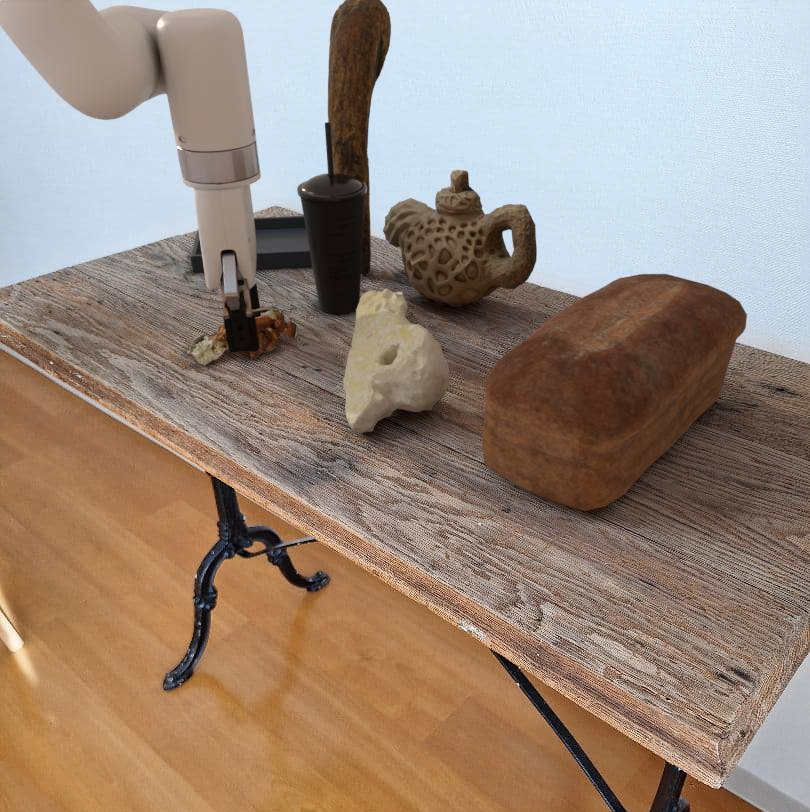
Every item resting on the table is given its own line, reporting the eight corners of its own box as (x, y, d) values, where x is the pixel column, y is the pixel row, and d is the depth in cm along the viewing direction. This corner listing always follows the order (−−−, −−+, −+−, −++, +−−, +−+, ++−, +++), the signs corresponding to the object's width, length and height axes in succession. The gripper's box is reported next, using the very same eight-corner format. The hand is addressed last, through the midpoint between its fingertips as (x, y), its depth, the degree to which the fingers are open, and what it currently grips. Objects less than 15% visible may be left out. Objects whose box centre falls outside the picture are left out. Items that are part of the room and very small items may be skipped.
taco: (179, 351, 89) (173, 320, 86) (272, 320, 94) (269, 290, 92) (211, 374, 84) (206, 342, 82) (307, 340, 90) (304, 309, 88)
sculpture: (396, 262, 108) (392, -8, 89) (389, 284, 102) (383, 0, 83) (345, 261, 109) (330, -9, 89) (335, 282, 103) (317, 0, 84)
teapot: (359, 294, 100) (353, 164, 90) (419, 267, 107) (419, 143, 97) (500, 344, 89) (511, 203, 80) (557, 310, 96) (573, 176, 86)
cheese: (433, 470, 74) (506, 328, 75) (378, 432, 69) (456, 281, 71) (343, 446, 86) (407, 323, 87) (291, 411, 81) (360, 282, 82)
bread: (740, 398, 80) (775, 277, 72) (600, 541, 63) (627, 403, 55) (613, 358, 86) (632, 243, 79) (456, 477, 70) (461, 346, 62)
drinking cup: (358, 322, 94) (349, 134, 81) (297, 314, 96) (279, 129, 83) (379, 296, 99) (374, 116, 87) (321, 289, 101) (307, 112, 88)
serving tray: (193, 272, 106) (190, 256, 105) (202, 234, 117) (199, 220, 115) (324, 266, 107) (323, 250, 106) (321, 229, 118) (320, 214, 117)
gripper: (188, 141, 84) (216, 304, 96) (170, 192, 71) (205, 374, 82) (260, 138, 85) (280, 300, 96) (256, 187, 72) (279, 369, 83)
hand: (245, 333), depth 89 cm, fingers closed on taco, 7 cm apart
